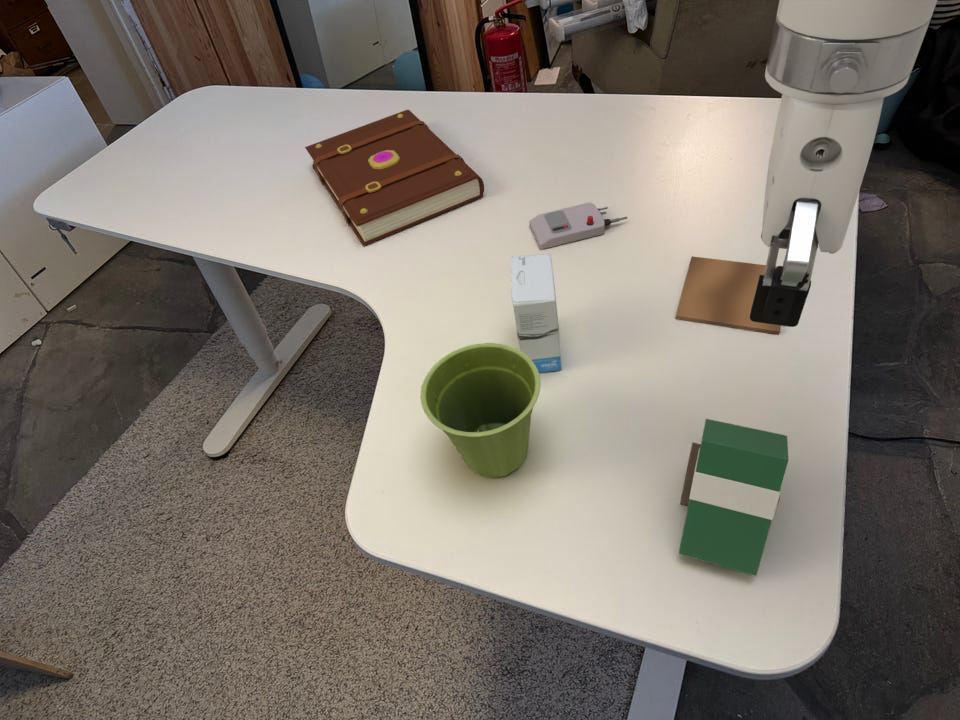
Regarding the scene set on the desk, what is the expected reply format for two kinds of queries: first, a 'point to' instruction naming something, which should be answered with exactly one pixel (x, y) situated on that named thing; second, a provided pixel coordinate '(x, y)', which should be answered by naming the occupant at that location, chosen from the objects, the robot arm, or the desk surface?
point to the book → (392, 175)
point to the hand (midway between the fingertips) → (777, 278)
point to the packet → (734, 495)
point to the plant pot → (484, 404)
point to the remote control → (569, 225)
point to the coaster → (722, 294)
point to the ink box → (536, 310)
